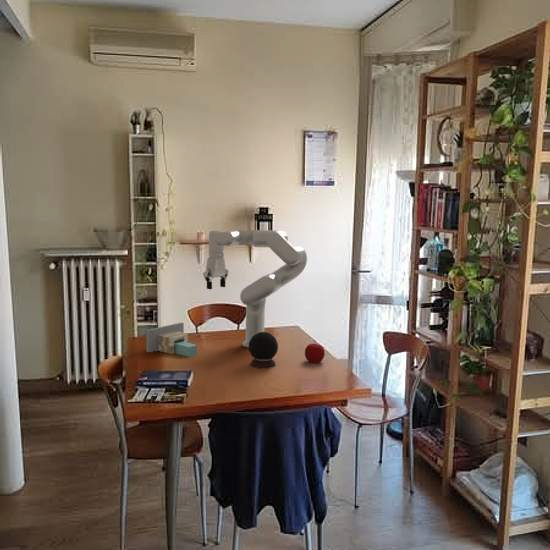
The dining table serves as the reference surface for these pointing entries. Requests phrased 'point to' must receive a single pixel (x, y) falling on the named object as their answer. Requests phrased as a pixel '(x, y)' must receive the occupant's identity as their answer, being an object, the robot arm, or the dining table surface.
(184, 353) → the peg
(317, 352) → the apple
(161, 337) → the block
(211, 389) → the dining table surface
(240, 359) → the dining table surface
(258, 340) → the snow globe
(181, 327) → the wall
